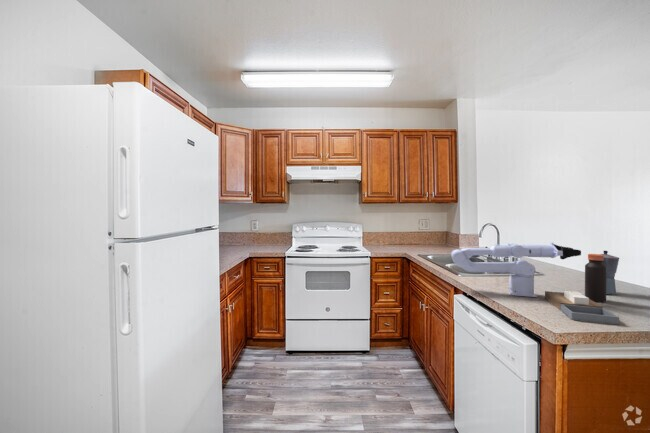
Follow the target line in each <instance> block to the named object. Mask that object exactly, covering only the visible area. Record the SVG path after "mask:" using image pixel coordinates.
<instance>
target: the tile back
mask: <svg viewBox="0 0 650 433" xmlns="http://www.w3.org/2000/svg"><path fill="white" fill-rule="evenodd" d="M563 293H564V297H566V298H567V299H569V294H577V295H583V294H582V293H581V292H579V291H573V290H563Z"/></svg>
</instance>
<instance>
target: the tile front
mask: <svg viewBox="0 0 650 433" xmlns="http://www.w3.org/2000/svg"><path fill="white" fill-rule="evenodd" d="M569 300H570V301H571V302H573V303H575V304H586V305H589V298H588V297H586V296H585V294H582V295H577V294H569Z"/></svg>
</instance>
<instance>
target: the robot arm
mask: <svg viewBox="0 0 650 433" xmlns="http://www.w3.org/2000/svg"><path fill="white" fill-rule="evenodd" d="M489 255H491V256H492V257H494V258H509V257H514V258H517V259H519V260H517V261H508V262H505V261H503V262H500V261H499V262H498V261H497V262H496V261H494V262H492V261H491V262H489V261H488V262H487V261H486V262H485V261H484V262H483V261H479V262H478V261H471V259H470V258H472V257H473V256H489ZM450 256H451V260H452V261H453V263H454V264H455V265H456V266H457V267H459V268H461V269H463V270H465V271H466V272H469V273H499V274H500V273H503V274H507V273H508V274H510V275H509V278H508V279H509V284H508V285H509V288H508V289H509V290H508V291H509V292H510V294H511V295H512V296H518V297H530V298H531V297H532V298H538V295H536V294H535V274H536V271H537V270H536V267H535V266H534V265H533V264H532V263H530V262H529V261H527V260H525V259H520V258H523V257H527V258H550V259H554V258H556V257H559V259H561V260H565V259H568V258H571V257H572V258H573V257H579V256H582V251H581V249H576V248H575V249H574V248H572V247H567V246H562V245H557V244H555V243H554V242H552V241H551V242H549V244H517V243H507V244H499V243H496V244H495V245H494V244H493V245H492V246H491V247H465V248H457V249H456V248H455V249H453V250H452V251H451V254H450Z"/></svg>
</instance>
